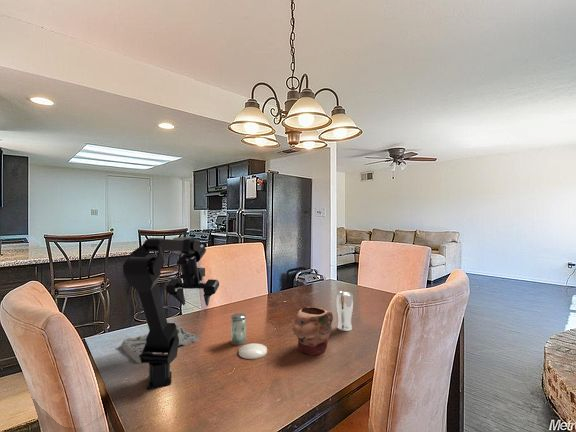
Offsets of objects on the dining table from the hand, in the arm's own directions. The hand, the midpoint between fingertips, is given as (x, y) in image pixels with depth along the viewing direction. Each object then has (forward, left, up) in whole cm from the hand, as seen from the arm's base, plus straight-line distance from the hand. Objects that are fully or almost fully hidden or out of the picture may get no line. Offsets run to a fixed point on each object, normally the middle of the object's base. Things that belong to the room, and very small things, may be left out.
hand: (195, 304), depth 109 cm
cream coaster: (-16, -18, -14) cm, 28 cm away
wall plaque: (+3, +12, -15) cm, 19 cm away
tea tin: (-6, -15, -14) cm, 22 cm away
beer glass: (-10, -60, -15) cm, 63 cm away
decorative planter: (-21, -40, -15) cm, 47 cm away
